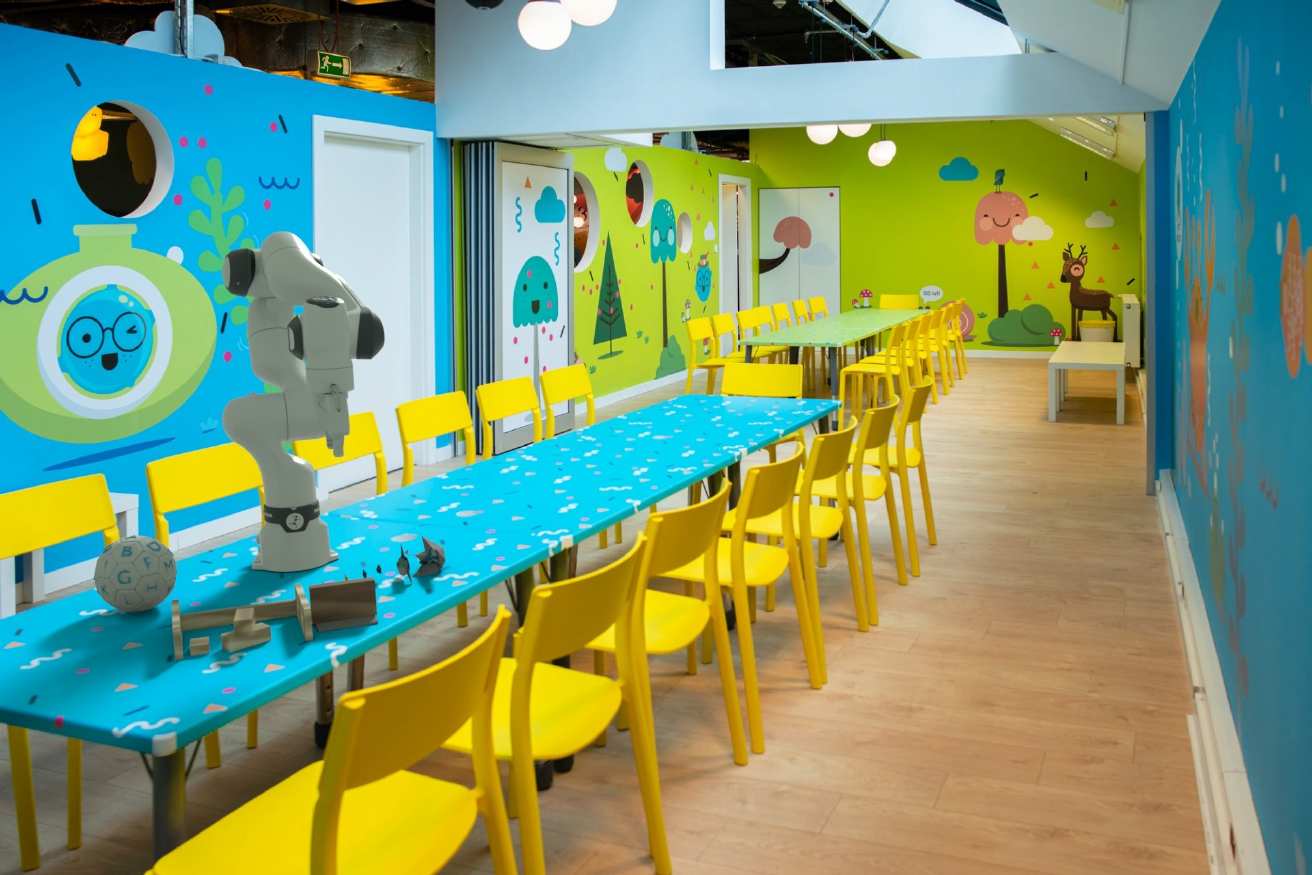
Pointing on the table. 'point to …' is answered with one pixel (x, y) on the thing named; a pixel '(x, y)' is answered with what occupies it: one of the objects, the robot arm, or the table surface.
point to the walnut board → (342, 600)
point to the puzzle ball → (135, 573)
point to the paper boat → (428, 545)
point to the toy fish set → (404, 564)
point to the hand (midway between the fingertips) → (335, 452)
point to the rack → (227, 616)
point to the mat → (346, 623)
